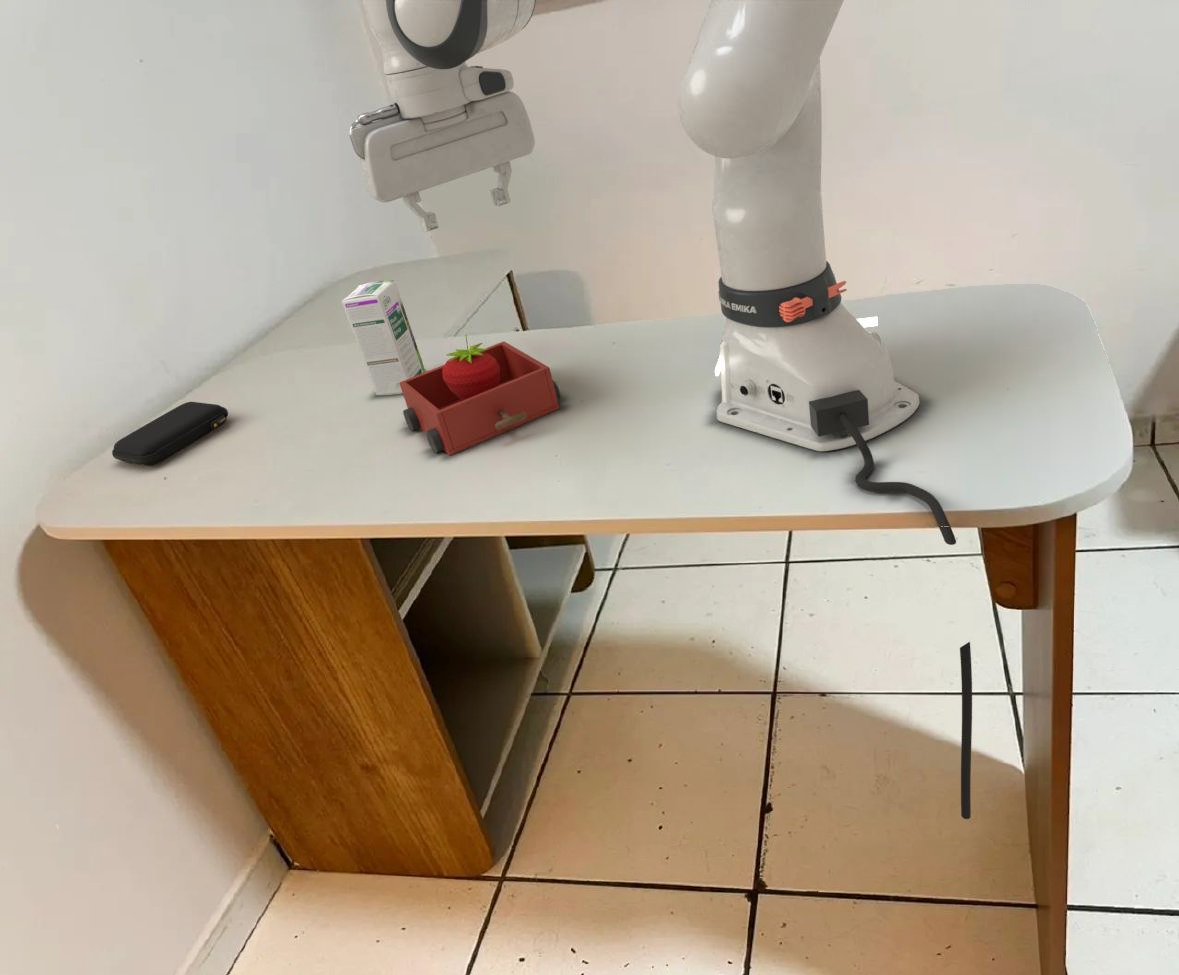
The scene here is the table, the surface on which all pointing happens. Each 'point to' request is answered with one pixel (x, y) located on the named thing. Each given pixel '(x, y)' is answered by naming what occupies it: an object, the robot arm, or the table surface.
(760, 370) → the robot arm
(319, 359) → the table surface
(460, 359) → the strawberry
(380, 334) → the syrup box
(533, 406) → the toy wagon
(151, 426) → the carrying case
